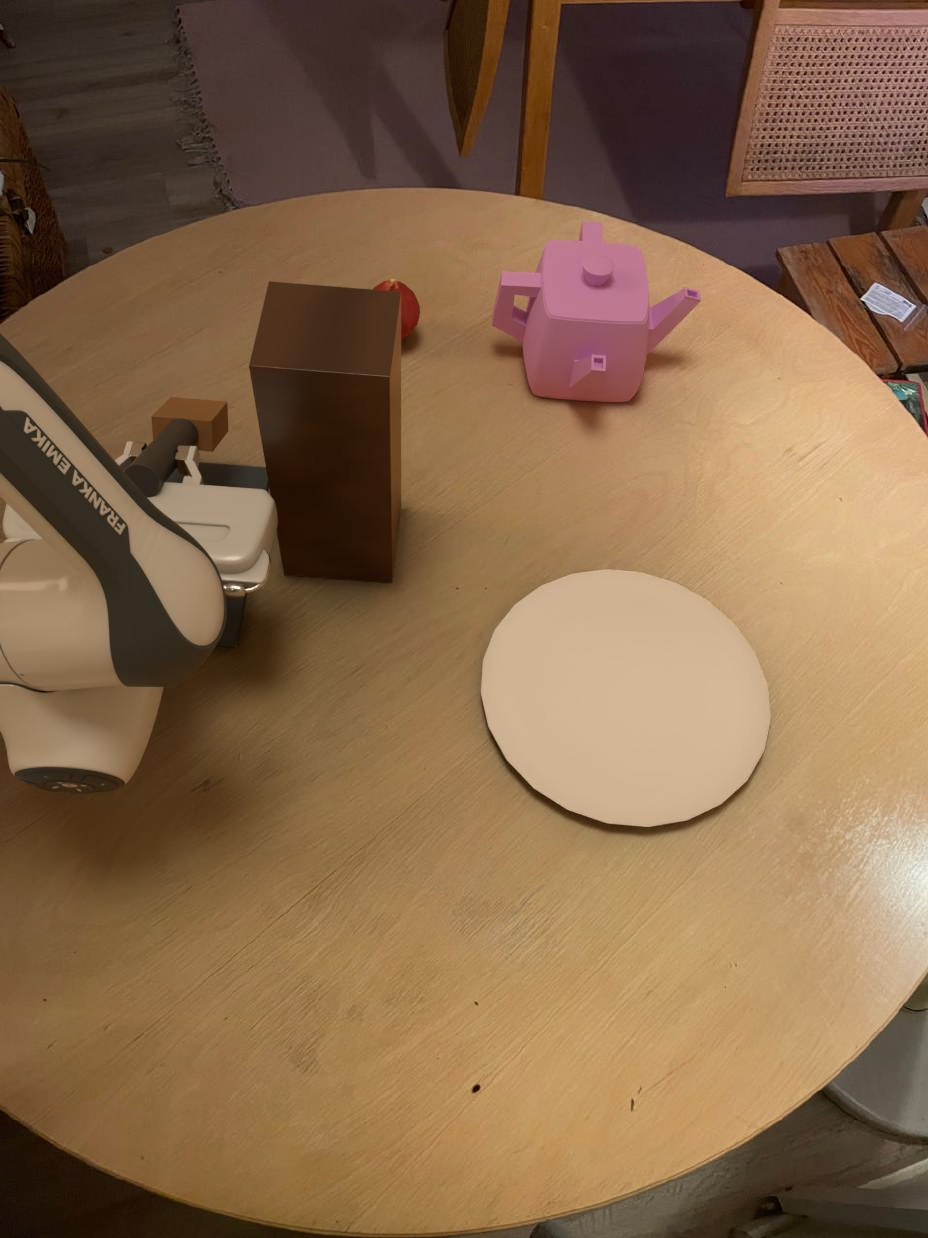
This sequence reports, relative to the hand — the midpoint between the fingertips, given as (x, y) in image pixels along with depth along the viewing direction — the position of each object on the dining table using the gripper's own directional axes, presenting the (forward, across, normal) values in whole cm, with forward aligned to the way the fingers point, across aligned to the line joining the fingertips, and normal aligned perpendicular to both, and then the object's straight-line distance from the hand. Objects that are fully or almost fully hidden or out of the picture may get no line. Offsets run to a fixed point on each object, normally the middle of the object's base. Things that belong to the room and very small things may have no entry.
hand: (164, 448), depth 85 cm
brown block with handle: (+1, 0, +3) cm, 3 cm away
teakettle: (+29, -37, +14) cm, 49 cm away
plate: (-12, -40, +14) cm, 44 cm away
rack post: (+2, -14, +14) cm, 20 cm away
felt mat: (0, 0, +14) cm, 14 cm away
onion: (+30, -16, +14) cm, 36 cm away
